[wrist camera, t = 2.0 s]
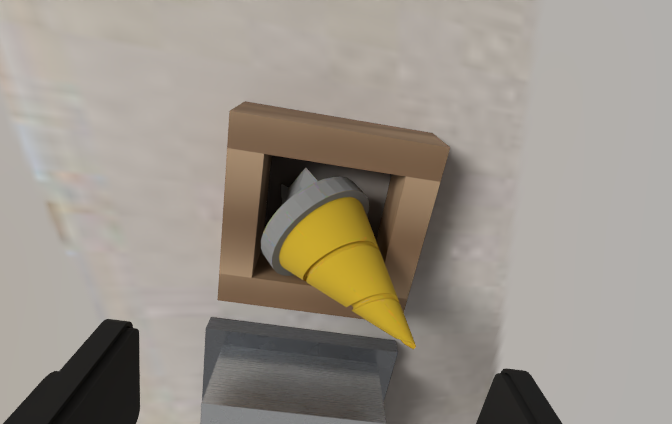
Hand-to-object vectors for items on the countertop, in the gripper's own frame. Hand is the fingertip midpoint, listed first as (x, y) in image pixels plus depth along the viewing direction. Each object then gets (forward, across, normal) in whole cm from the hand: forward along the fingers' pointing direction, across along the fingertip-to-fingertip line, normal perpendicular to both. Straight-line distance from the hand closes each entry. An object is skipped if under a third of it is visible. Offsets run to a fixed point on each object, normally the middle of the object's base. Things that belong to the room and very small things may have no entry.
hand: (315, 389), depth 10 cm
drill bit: (+11, -1, -1) cm, 11 cm away
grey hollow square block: (+12, 0, +12) cm, 17 cm away
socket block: (+11, 0, -1) cm, 11 cm away
